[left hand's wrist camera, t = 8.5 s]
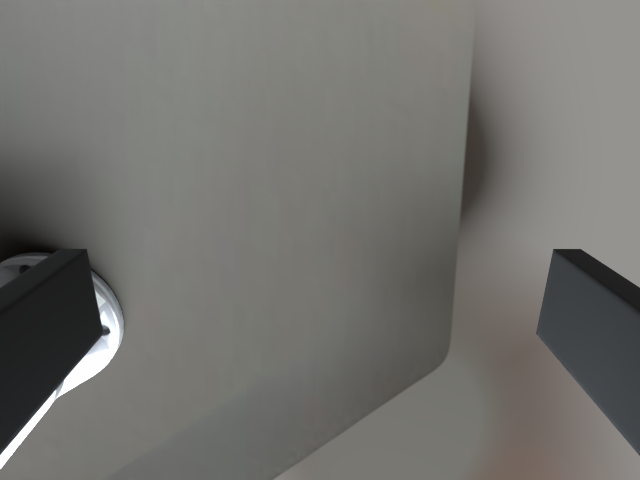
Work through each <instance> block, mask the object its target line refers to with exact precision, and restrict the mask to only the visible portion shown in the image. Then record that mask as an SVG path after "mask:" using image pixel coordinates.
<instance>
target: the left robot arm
mask: <svg viewBox="0 0 640 480" xmlns="http://www.w3.org/2000/svg"><path fill="white" fill-rule="evenodd" d="M123 332H124V320H123V314H122V311H121V307H120V305H119V303H118V300H117V298H116V297H115V295H114V293H113V292H112V290H111V289H110V288H109V286H108V285H107V284H106V283H105V282H104V281H103V280H102V279H101V278H100V277H99V276H98V275H97V274H96V273H94V272H93V271H92V270H91V269H90V264H89V259H88V254H87V249H59V250H57V251H56V252H54V253H53V254H52V253H44V252H31V253H24V254H19V255H16V256H13V257H11V258H8V259H6V260H4V261H3V262H1V263H0V468H1V467H2V466H3V465H4V463H5V462H6V461H7V460H8V458H9V457H10V456H11V455H12V453H13V452H14V451H15V450H16V448H17V447H18V446H19V445H20V443H21V442H22V441H23V440H24V438H25V437H26V436H27V435H28V433H29V432H30V431H31V430H32V428H33V427H34V426H35V425H36V423H37V422H38V421H39V420H40V418H41V417H42V416H43V415H44V413H45V412H46V411H47V410H48V408H49V407H50V406H51V404H52V403H53V402H54V401H55V400H56V399H57V397H58V396H60V395H62V394H64V393H65V392H67V391H69V390H70V389H72V388H74V387H75V386H77V385H79V384H80V383H82V382H84V381H85V380H87V379H89V378H90V377H92V376H94V375H95V374H96V373H98V372H99V371H100V370H101V369H103V368H104V367H105V366H106V365H107V363H108V362H109V361H110V359H111V358H112V357H113V355H114V354H115V353H116V351H117V350H118V348H119V346H120V344H121V341H122V338H123ZM536 334H537V335H538V336H539V337H540V339H541V340H542V341H543V342H544V343H545V344H546V346H547V347H548V348H549V349H550V350H551V352H552V353H553V354H554V355H555V356H556V357H557V359H558V360H559V361H560V362H561V363H562V365H563V366H564V367H565V368H566V369H567V370H568V372H569V373H570V374H571V375H572V376H573V377H574V379H575V380H576V381H577V382H578V383H579V385H580V386H581V387H582V388H583V389H584V390H585V392H586V393H587V394H588V395H589V396H590V398H591V399H592V400H593V401H594V402H595V403H596V405H597V406H598V407H599V408H600V409H601V411H602V412H603V413H604V414H605V415H606V416H607V418H608V419H609V420H610V421H611V422H612V423H613V425H614V426H615V427H616V428H617V429H618V431H619V432H620V433H621V434H622V435H623V436H624V438H625V439H626V440H627V441H628V442H629V443H630V445H631V446H632V447H633V448H634V449H635V451H636V452H637V453H638V454H639V455H640V288H639V287H638V286H636V285H635V284H633V283H632V282H630V281H629V280H627V279H625V278H624V277H622V276H621V275H619V274H618V273H616V272H615V271H613V270H612V269H610V268H609V267H607V266H606V265H604V264H602V263H601V262H599V261H598V260H596V259H595V258H593V257H592V256H590V255H589V254H587V253H586V252H584V251H583V250H581V249H553V254H552V259H551V264H550V269H549V273H548V279H547V283H546V288H545V293H544V298H543V303H542V308H541V313H540V318H539V323H538V328H537V332H536Z"/></svg>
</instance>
